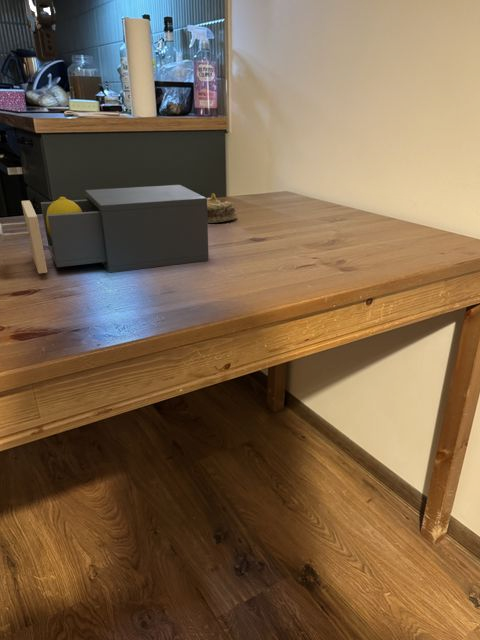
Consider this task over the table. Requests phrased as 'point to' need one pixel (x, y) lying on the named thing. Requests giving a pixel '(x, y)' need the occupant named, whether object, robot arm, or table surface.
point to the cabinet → (151, 226)
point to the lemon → (61, 209)
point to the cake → (219, 210)
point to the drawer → (63, 235)
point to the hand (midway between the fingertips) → (47, 60)
